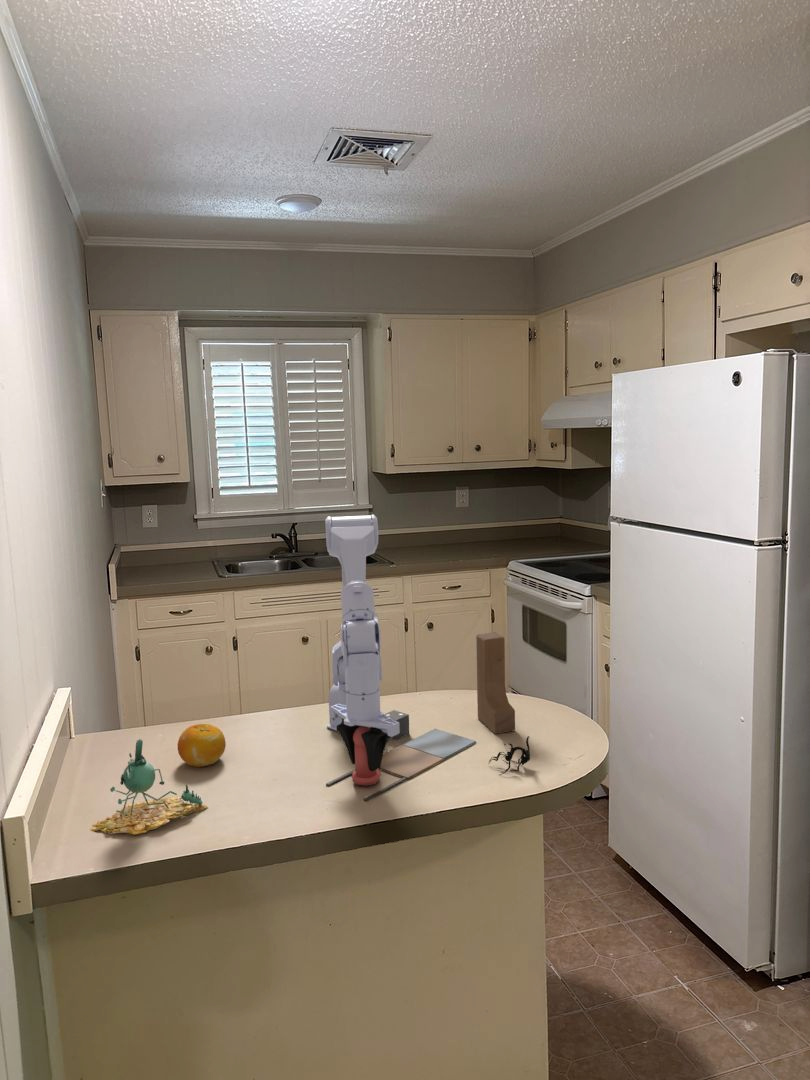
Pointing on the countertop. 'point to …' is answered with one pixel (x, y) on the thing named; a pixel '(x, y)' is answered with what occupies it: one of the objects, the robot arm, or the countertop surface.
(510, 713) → the wooden block
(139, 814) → the teal figurine on bark
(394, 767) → the board
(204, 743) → the fruit
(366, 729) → the pawn
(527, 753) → the creature
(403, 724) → the die
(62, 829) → the countertop surface
